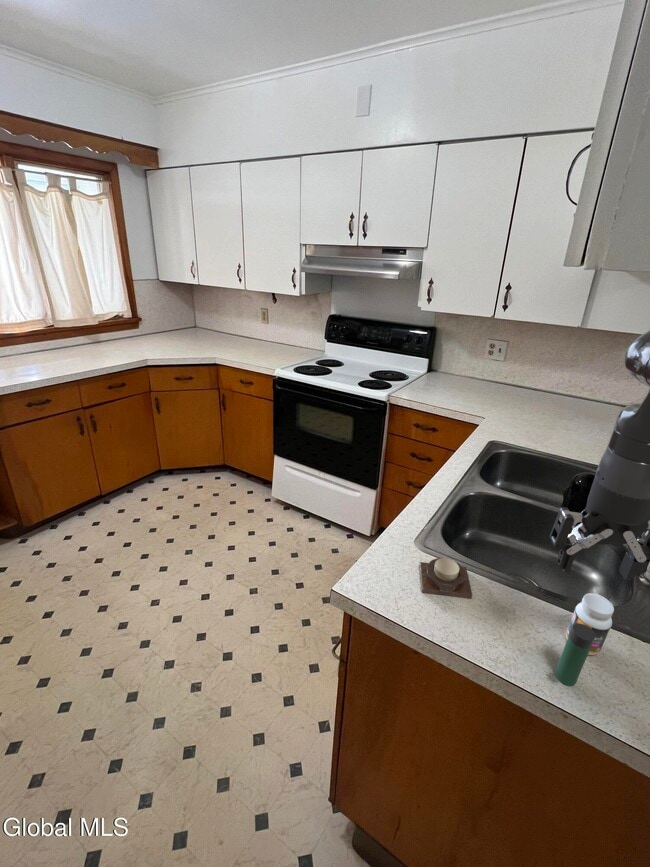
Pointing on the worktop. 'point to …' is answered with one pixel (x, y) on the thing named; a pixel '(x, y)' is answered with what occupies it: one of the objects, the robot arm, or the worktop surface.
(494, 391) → the worktop surface
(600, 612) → the pill bottle
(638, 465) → the robot arm
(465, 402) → the worktop surface
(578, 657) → the cylinder
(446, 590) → the tealight candle holder
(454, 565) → the dot pad
